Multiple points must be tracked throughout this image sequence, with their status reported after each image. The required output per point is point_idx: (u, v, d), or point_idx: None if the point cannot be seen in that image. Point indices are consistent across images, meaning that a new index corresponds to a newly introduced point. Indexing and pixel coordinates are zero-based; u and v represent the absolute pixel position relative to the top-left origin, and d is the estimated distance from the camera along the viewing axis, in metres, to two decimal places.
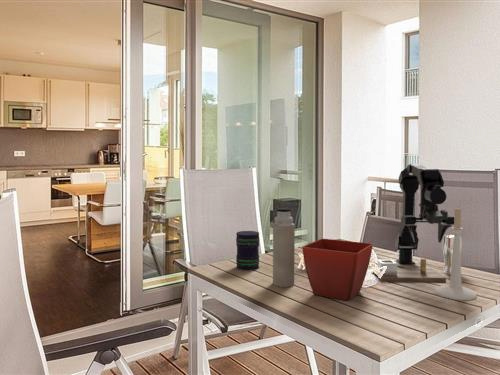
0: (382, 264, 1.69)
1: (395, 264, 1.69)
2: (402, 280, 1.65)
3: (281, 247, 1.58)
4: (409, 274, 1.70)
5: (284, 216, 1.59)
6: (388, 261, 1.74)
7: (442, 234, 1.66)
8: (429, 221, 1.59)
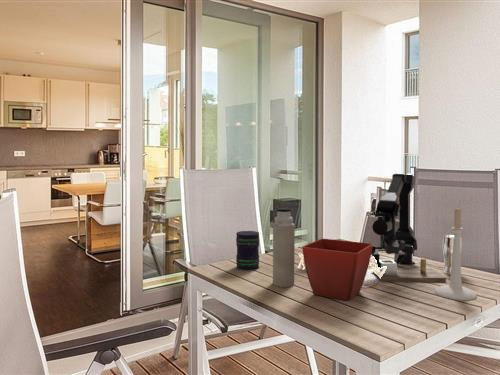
0: (382, 264, 1.69)
1: (395, 264, 1.69)
2: (402, 280, 1.65)
3: (281, 247, 1.58)
4: (409, 274, 1.70)
5: (284, 216, 1.59)
6: (388, 261, 1.74)
7: (397, 263, 1.71)
8: (386, 251, 1.65)
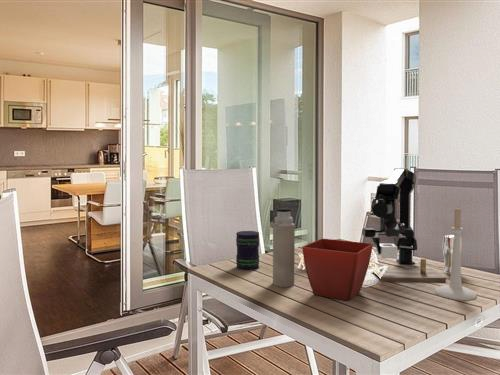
0: (382, 247, 1.69)
1: (395, 247, 1.69)
2: (402, 280, 1.65)
3: (281, 247, 1.58)
4: (409, 274, 1.70)
5: (284, 216, 1.59)
6: (388, 245, 1.74)
7: (397, 246, 1.70)
8: (387, 234, 1.64)
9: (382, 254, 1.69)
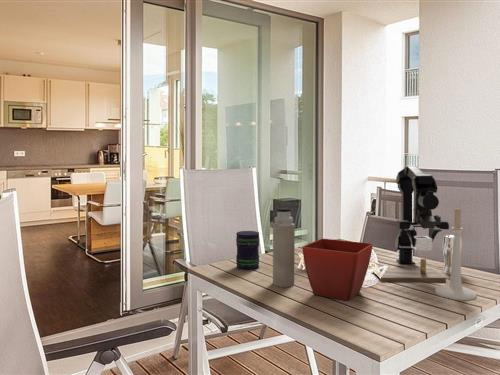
0: (417, 239, 1.68)
1: (430, 239, 1.68)
2: (402, 280, 1.65)
3: (281, 247, 1.58)
4: (409, 274, 1.70)
5: (284, 216, 1.59)
6: (422, 237, 1.73)
7: (432, 238, 1.70)
8: (422, 226, 1.64)
9: (417, 246, 1.68)
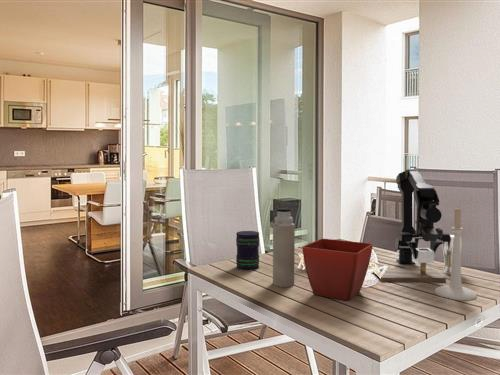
0: (419, 252, 1.69)
1: (432, 252, 1.68)
2: (402, 280, 1.65)
3: (281, 247, 1.58)
4: (409, 274, 1.70)
5: (284, 216, 1.59)
6: (424, 249, 1.73)
7: (434, 251, 1.70)
8: (425, 239, 1.64)
9: (419, 259, 1.69)
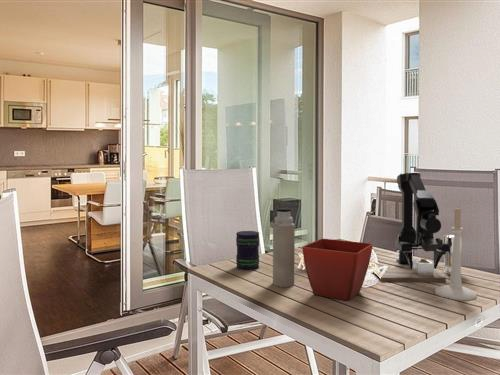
0: (419, 264, 1.69)
1: (432, 264, 1.69)
2: (402, 280, 1.65)
3: (281, 247, 1.58)
4: (409, 274, 1.70)
5: (284, 216, 1.59)
6: None
7: (437, 260, 1.70)
8: (424, 249, 1.64)
9: (418, 271, 1.69)
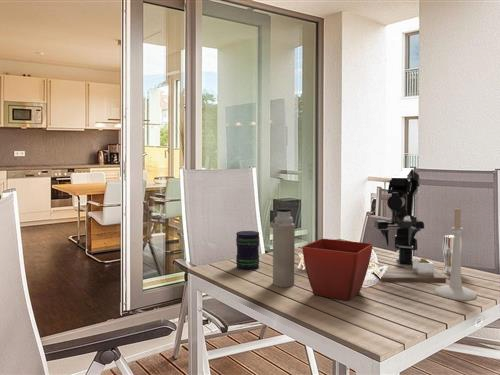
0: (419, 264, 1.69)
1: (432, 264, 1.69)
2: (402, 280, 1.65)
3: (281, 247, 1.58)
4: (409, 274, 1.70)
5: (284, 216, 1.59)
6: None
7: (412, 237, 1.78)
8: (399, 226, 1.72)
9: (418, 271, 1.69)
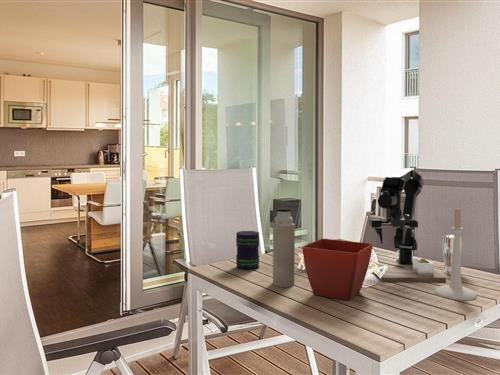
0: (419, 264, 1.69)
1: (432, 264, 1.69)
2: (402, 280, 1.65)
3: (281, 247, 1.58)
4: (409, 274, 1.70)
5: (284, 216, 1.59)
6: None
7: (406, 236, 1.80)
8: (392, 224, 1.74)
9: (418, 271, 1.69)
